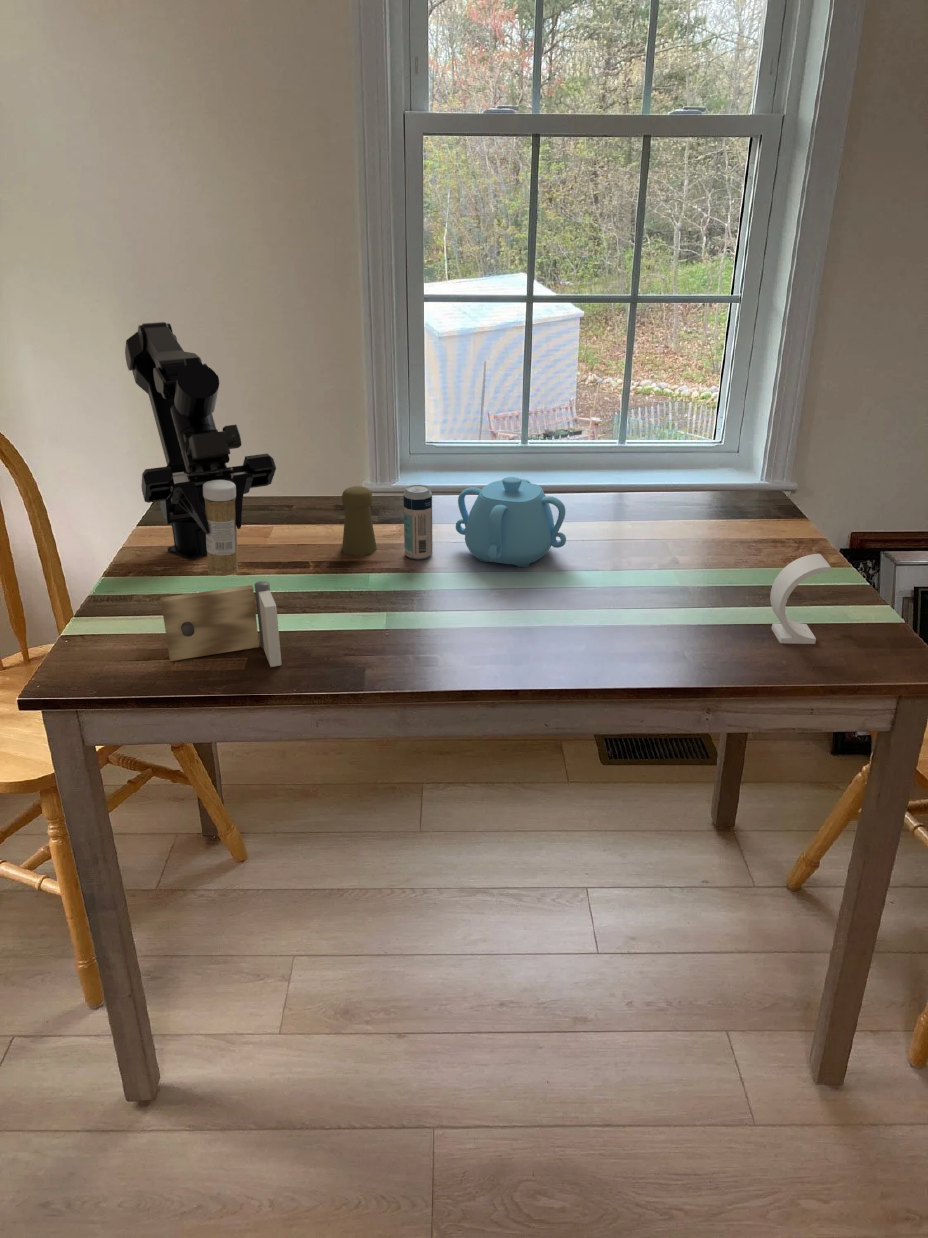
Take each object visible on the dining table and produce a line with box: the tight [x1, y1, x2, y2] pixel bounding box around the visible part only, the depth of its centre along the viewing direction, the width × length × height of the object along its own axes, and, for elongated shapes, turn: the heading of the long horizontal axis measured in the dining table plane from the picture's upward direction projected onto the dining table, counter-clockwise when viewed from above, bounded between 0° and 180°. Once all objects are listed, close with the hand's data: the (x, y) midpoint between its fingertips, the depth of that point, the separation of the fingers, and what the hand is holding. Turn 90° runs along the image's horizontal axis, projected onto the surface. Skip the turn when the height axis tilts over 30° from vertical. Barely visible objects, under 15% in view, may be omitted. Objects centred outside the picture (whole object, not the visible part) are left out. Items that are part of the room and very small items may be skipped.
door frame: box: [254, 580, 283, 668], centre depth 128 cm, size 7×2×10 cm, turn 21°
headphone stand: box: [769, 553, 832, 645], centre depth 134 cm, size 5×6×12 cm
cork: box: [341, 485, 378, 556], centre depth 162 cm, size 6×6×11 cm
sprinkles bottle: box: [203, 480, 239, 577], centre depth 137 cm, size 5×5×14 cm
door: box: [160, 584, 260, 662], centre depth 128 cm, size 12×2×9 cm, turn 111°
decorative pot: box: [455, 476, 567, 568], centre depth 159 cm, size 16×16×14 cm
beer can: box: [402, 484, 434, 560], centre depth 159 cm, size 5×5×12 cm
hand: (223, 530), depth 136 cm, fingers closed on sprinkles bottle, 4 cm apart
